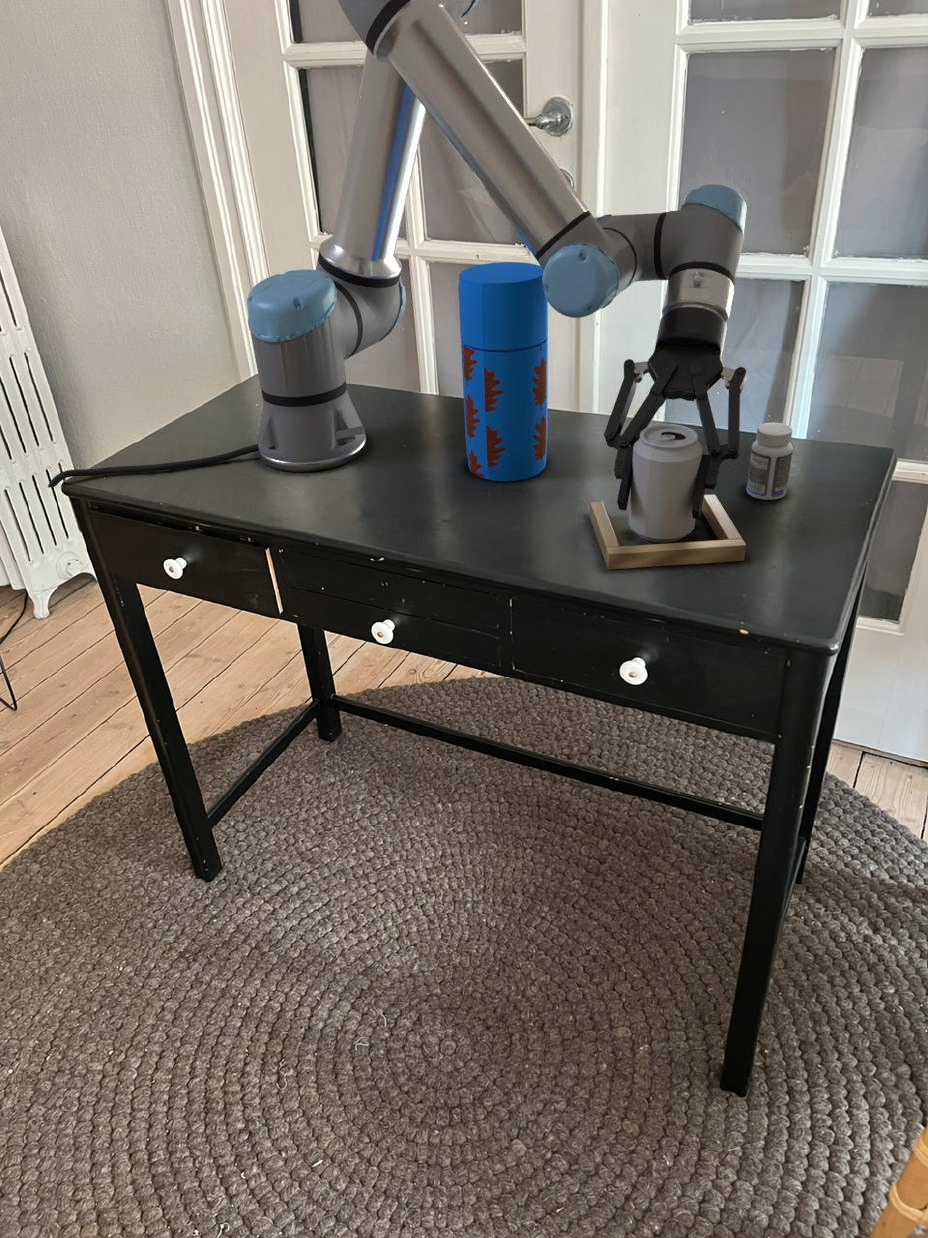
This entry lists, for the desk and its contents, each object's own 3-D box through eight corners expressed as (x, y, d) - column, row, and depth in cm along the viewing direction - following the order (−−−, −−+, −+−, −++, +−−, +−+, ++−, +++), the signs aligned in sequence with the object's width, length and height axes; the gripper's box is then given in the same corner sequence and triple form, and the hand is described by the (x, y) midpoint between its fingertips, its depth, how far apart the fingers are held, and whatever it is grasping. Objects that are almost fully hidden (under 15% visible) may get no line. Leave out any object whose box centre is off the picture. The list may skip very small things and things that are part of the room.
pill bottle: (781, 484, 115) (791, 420, 111) (789, 501, 111) (799, 436, 107) (743, 484, 116) (751, 420, 111) (748, 500, 112) (757, 436, 107)
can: (706, 526, 107) (717, 429, 100) (672, 553, 102) (681, 453, 95) (650, 508, 111) (657, 414, 104) (615, 533, 106) (620, 436, 100)
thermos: (528, 443, 130) (526, 257, 116) (560, 472, 121) (563, 275, 107) (456, 457, 127) (445, 268, 113) (483, 487, 118) (476, 288, 104)
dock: (607, 569, 100) (608, 553, 99) (589, 516, 110) (589, 501, 109) (744, 561, 100) (746, 545, 99) (713, 509, 111) (714, 494, 110)
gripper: (601, 298, 104) (562, 488, 101) (789, 307, 98) (754, 510, 95) (610, 331, 111) (574, 510, 108) (785, 342, 105) (752, 532, 102)
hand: (658, 510), depth 101 cm, fingers closed on can, 7 cm apart
